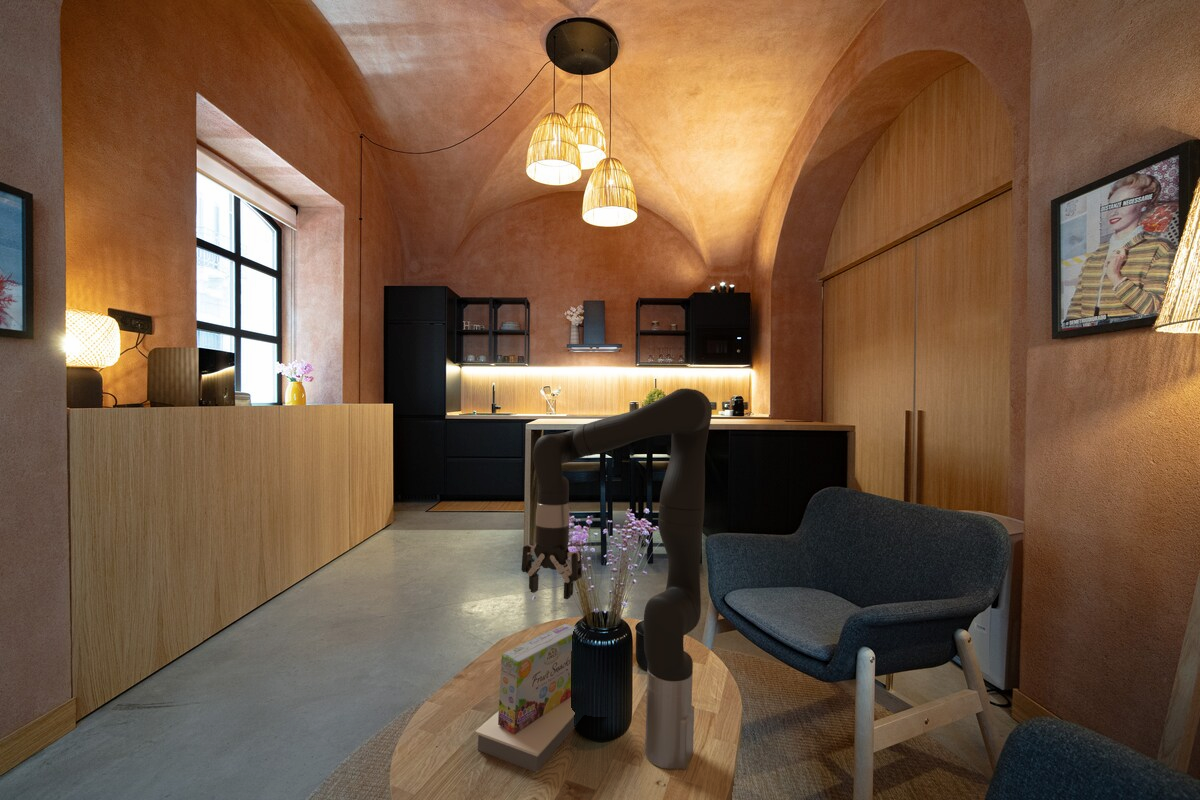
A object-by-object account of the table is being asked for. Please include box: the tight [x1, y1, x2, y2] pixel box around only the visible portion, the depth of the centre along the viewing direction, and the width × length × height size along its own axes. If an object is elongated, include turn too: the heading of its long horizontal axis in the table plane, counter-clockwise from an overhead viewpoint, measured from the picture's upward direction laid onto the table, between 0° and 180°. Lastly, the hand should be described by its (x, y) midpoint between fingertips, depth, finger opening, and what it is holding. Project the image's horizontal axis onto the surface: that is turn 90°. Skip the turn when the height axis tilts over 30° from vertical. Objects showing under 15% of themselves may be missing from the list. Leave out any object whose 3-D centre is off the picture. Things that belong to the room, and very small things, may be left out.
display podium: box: [474, 697, 576, 773], centre depth 115 cm, size 15×27×4 cm, turn 155°
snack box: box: [498, 623, 576, 734], centre depth 115 cm, size 21×6×15 cm, turn 144°
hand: (550, 594), depth 117 cm, fingers open, 8 cm apart
